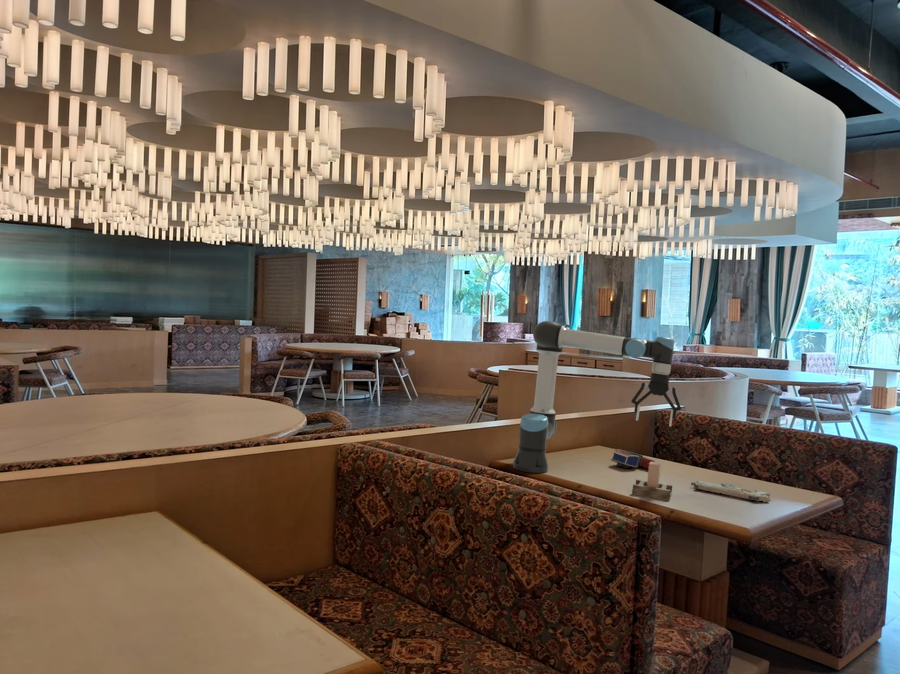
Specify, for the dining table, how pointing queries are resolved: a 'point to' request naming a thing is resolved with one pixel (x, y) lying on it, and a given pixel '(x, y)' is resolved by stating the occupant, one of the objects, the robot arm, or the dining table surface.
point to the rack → (652, 490)
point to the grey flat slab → (732, 491)
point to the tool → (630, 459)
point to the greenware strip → (654, 474)
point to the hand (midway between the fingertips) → (653, 423)
